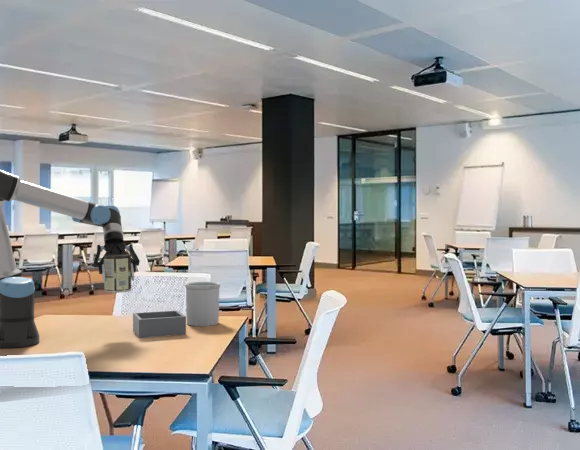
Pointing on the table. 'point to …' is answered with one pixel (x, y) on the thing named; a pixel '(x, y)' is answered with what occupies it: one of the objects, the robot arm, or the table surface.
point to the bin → (159, 324)
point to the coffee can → (117, 273)
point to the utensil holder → (202, 303)
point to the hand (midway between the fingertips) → (118, 278)
